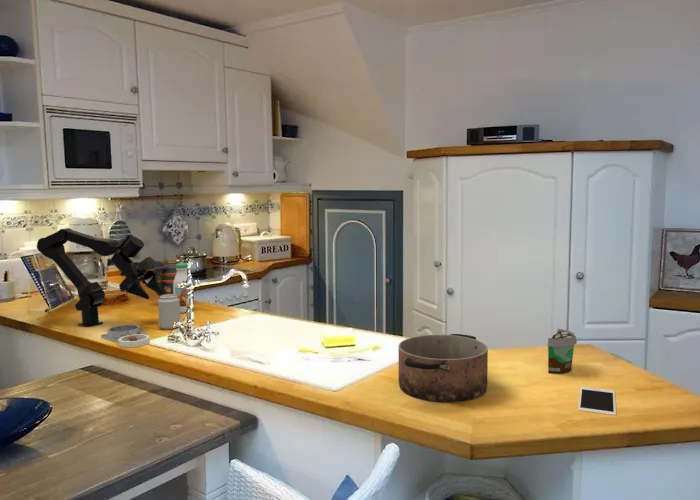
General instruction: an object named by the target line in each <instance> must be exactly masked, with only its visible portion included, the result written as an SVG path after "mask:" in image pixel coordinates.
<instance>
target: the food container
mask: <svg viewBox="0 0 700 500" xmlns="http://www.w3.org/2000/svg"><path fill="white" fill-rule="evenodd" d="M547 338H548V339H547V352H548V353H547V356H548V357H547V361H548V362H547V366H548V367H547V370H548V371H547V373H548V374H552V375H563V374H569V373H570V372H572V367H573V359H574V349H575V345H577V344H578V343H577V342H578V341H577V336H576V335H575V333H574V332H572V331H570V330H568V329H562V328H557V331H556V333H555V334H553V336H552V337H551V338H550V337H547Z"/></svg>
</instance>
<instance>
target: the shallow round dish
mask: <svg viewBox="0 0 700 500" xmlns="http://www.w3.org/2000/svg"><path fill="white" fill-rule="evenodd" d="M130 336H136V337H137V341H126V340H128V338H129V337H130ZM118 342H119V343H118ZM118 342H117V343H118V347H120V346H121V348H136V347H137V348H138V347H142V346H146V345H148V344H150V343H151V340H150V335H149V334H148V335H145V334H134V335H127V336H123V337H121V338H119V339H118ZM149 342H150V343H149Z"/></svg>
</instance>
